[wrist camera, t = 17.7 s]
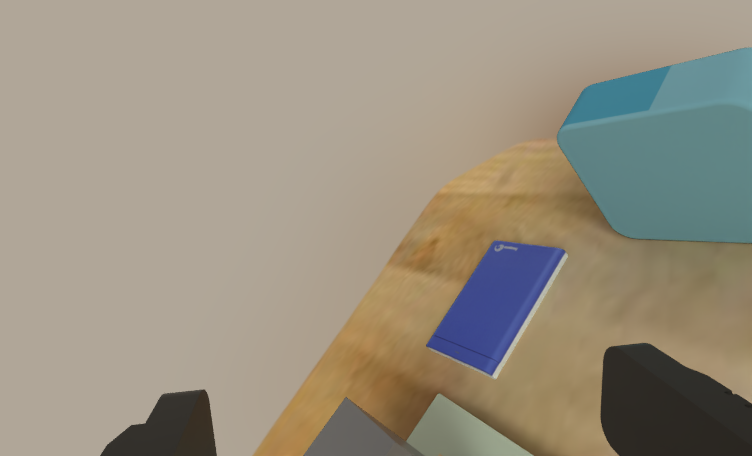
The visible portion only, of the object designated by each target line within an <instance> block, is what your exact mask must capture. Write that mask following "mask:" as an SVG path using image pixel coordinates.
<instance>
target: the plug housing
mask: <svg viewBox="0 0 752 456" xmlns="http://www.w3.org/2000/svg"><path fill="white" fill-rule="evenodd" d="M303 456H424V455H423V454H422V453H420V452H419V451H418V450H416V449H415V448H414V447H412V446H411V445H410V444H408V443H407V442H406V441H404V440H403V439H402V438H400V437H399V436H398V435H396V434H395V433H394V432H392V431H391V430H390V429H388V428H387V427H386V426H384V425H383V424H382V423H380V422H379V421H378V420H376V419H375V418H374V417H372V416H371V415H370V414H368V413H367V412H366V411H364V410H363V409H361V408H360V407H359V406H357V405H356V404H355V403H353V402H352V401H351V400H349V399H348V398H347V397H346V398H345V399H344V400H343V402H342V403H341V404H340V406H339V407H338V409H337V410H336V411H335V413H334V414H333V415H332V417H331V418H330V420H329V421H328V422H327V424H326V425H325V426H324V428H323V429H322V431H321V432H320V433H319V435H318V436H317V437H316V439H315V440H314V442H313V443H312V444H311V446H310V447H309V448H308V450H307V451H306V453H305V454H304V455H303Z"/></svg>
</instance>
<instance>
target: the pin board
mask: <svg viewBox="0 0 752 456" xmlns="http://www.w3.org/2000/svg"><path fill="white" fill-rule="evenodd" d="M406 442H407V443H408V444H410V445H411V446H412V447H414V448H415V449H416V450H418V451H419V452H420V453H422V454H423V455H424V456H533V455H532V454H530V453H529V452H527V451H526V450H524V449H523V448H521V447H520V446H518V445H517V444H515V443H514V442H512V441H511V440H509V439H508V438H506V437H505V436H503V435H502V434H500V433H499V432H497V431H496V430H494V429H493V428H491V427H490V426H488V425H487V424H485V423H484V422H482V421H481V420H479V419H478V418H476V417H474V416H473V415H471V414H470V413H468V412H467V411H465V410H464V409H462V408H461V407H459V406H458V405H456V404H455V403H453V402H452V401H450V400H449V399H447V398H446V397H444V396H443V395H441V394H440V393H438V395H437V396H436V398H435V399H434V401H433V402H432V403H431V405H430V406H429V408H428V409H427V411H426V412H425V414H424V415H423V417H422V418H421V420H420V421H419V423H418V424H417V426H416V427H415V429H414V430H413V432H412V433H411V435H410V436H409V438H408V439H407V440H406Z"/></svg>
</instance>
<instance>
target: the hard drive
mask: <svg viewBox="0 0 752 456" xmlns="http://www.w3.org/2000/svg"><path fill="white" fill-rule="evenodd" d="M567 257H568V254H567V253H566V251H564V250H563V249H560V248H555V247H547V246H538V245H529V244H521V243H514V242H505V241H494V242H493V243H492V244H491V246H490V248H489V249H488V251H487V252H486V254H485V255H484V257H483V259H482V260H481V262H480V263H479V265H478V266H477V268H476V269H475V271H474V272H473V274H472V275H471V277H470V279H469V280H468V282H467V283H466V285H465V286H464V288H463V289H462V291H461V292H460V294H459V295H458V297H457V299H456V300H455V302H454V303H453V305H452V306H451V308H450V309H449V311H448V312H447V314H446V315H445V317H444V319H443V320H442V322H441V323H440V325H439V326H438V328H437V329H436V331H435V333H434V334H433V336H432V337H431V339H430V340H429V342H428V343H427V345H426V346H427V347H428V348H429V349H430V350H431V351H433V352H435V353H438V354H440V355H442V356H444V357H446V358H449V359H451V360H453V361H455V362H457V363H460V364H462V365H464V366H466V367H469V368H471V369H473V370H475V371H477V372H480V373H482V374H484V375H486V376H488V377H491V378H493V379H496V378H497V377H498V375H499V373H500V371H501V370H502V368H503V366H504V365H505V363H506V361H507V360H508V358H509V356H510V355H511V353H512V351H513V349H514V348H515V346H516V344H517V343H518V341H519V339H520V338H521V336H522V334H523V332H524V331H525V329H526V327H527V326H528V324H529V322H530V320H531V319H532V317H533V315H534V314H535V312H536V310H537V309H538V307H539V305H540V303H541V302H542V300H543V298H544V297H545V295H546V293H547V291H548V290H549V288H550V286H551V285H552V283H553V281H554V279H555V278H556V276H557V274H558V273H559V271H560V269H561V267H562V266H563V264H564V262H565V261H566V259H567Z"/></svg>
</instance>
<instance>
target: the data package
mask: <svg viewBox="0 0 752 456" xmlns="http://www.w3.org/2000/svg"><path fill="white" fill-rule="evenodd" d="M557 142H558V145H559V147H560V148H561V150H562V151H563V153H564V154H565V156H566V158H567V159H568V161H569V162H570V164H571V165H572V167H573V168H574V170H575V172H576V173H577V175H578V176H579V178H580V179H581V181H582V182H583V184H584V185H585V187H586V189H587V190H588V192H589V193H590V195H591V196H592V198H593V199H594V201H595V203H596V204H597V206H598V207H599V209H600V210H601V212H602V213H603V215H604V217H605V218H606V220H607V221H608V223H609V224H610V226H611V227H612V228H613V229H614V230H615V231H616V232H618V233H620V234H622V235H624V236H626V237H629V238H634V239H654V240H679V241H705V242H731V243H752V48H742V49H737V50H733V51H729V52H725V53H721V54H717V55H712V56H708V57H705V58H700V59H696V60H692V61H688V62H684V63H679V64H675V65H671V66H667V67H663V68H659V69H654V70H650V71H646V72H642V73H638V74H634V75H630V76H625V77H621V78H618V79H613V80H609V81H605V82H601V83H596V84H593V85H590V86H588V87H587V88H585V89H584V90H583V91H582V93H581V94H580V96H579V98H578V99H577V101H576V103H575V105H574V106H573V108H572V110H571V111H570V113H569V115H568V116H567V118H566V120H565V121H564V123H563V125H562V127H561V128H560V130H559V132H558V134H557Z"/></svg>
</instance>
